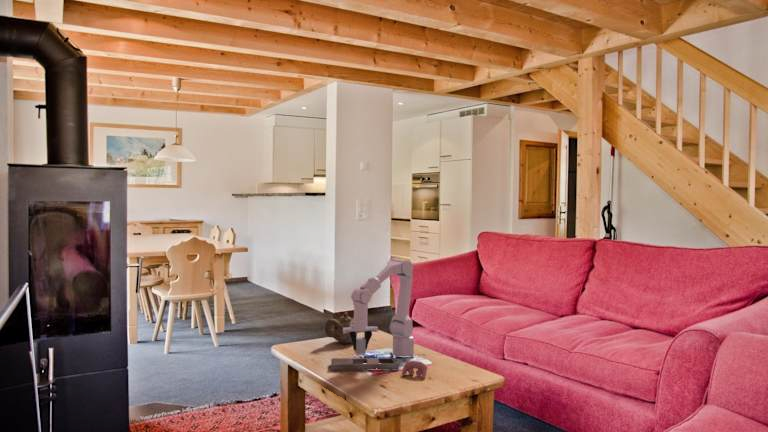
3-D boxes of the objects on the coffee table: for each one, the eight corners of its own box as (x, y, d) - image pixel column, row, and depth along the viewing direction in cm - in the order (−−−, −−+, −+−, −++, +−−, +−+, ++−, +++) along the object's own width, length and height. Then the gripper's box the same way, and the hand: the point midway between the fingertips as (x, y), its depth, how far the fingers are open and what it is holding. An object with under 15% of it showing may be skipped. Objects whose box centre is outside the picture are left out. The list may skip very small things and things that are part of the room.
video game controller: (426, 380, 224) (429, 363, 227) (424, 379, 220) (426, 361, 223) (403, 377, 228) (405, 360, 230) (400, 375, 224) (403, 358, 226)
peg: (363, 350, 236) (363, 337, 236) (365, 353, 233) (365, 339, 232) (354, 351, 236) (354, 337, 235) (356, 354, 232) (356, 340, 231)
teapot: (354, 336, 280) (355, 307, 279) (369, 342, 271) (369, 311, 270) (319, 343, 266) (319, 312, 265) (332, 349, 257) (333, 317, 256)
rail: (396, 363, 240) (396, 357, 239) (398, 370, 232) (398, 364, 232) (331, 364, 237) (331, 358, 237) (331, 370, 229) (331, 364, 229)
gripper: (375, 314, 238) (374, 345, 239) (342, 315, 235) (341, 347, 236) (379, 318, 232) (378, 350, 232) (344, 319, 228) (344, 352, 229)
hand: (360, 349), depth 234 cm, fingers closed on peg, 4 cm apart
